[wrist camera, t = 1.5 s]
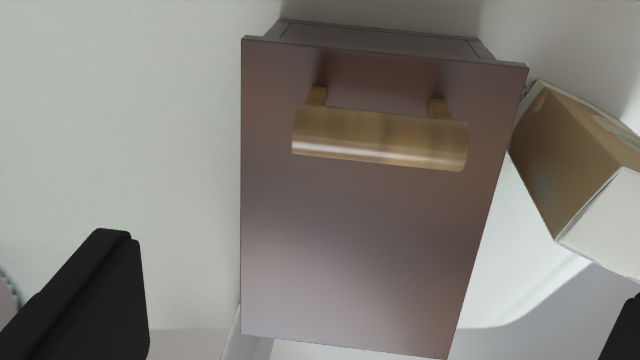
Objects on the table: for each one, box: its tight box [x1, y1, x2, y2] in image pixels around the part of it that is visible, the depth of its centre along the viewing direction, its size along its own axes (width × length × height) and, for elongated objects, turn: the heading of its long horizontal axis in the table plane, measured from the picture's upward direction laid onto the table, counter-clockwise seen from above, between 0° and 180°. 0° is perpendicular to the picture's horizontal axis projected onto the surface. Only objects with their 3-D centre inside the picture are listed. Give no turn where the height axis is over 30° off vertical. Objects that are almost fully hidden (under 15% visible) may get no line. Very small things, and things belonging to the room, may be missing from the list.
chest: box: [263, 19, 496, 60], centre depth 29 cm, size 16×12×9 cm
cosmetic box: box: [506, 80, 640, 283], centre depth 26 cm, size 6×4×12 cm
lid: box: [240, 35, 529, 360], centre depth 22 cm, size 17×12×6 cm
